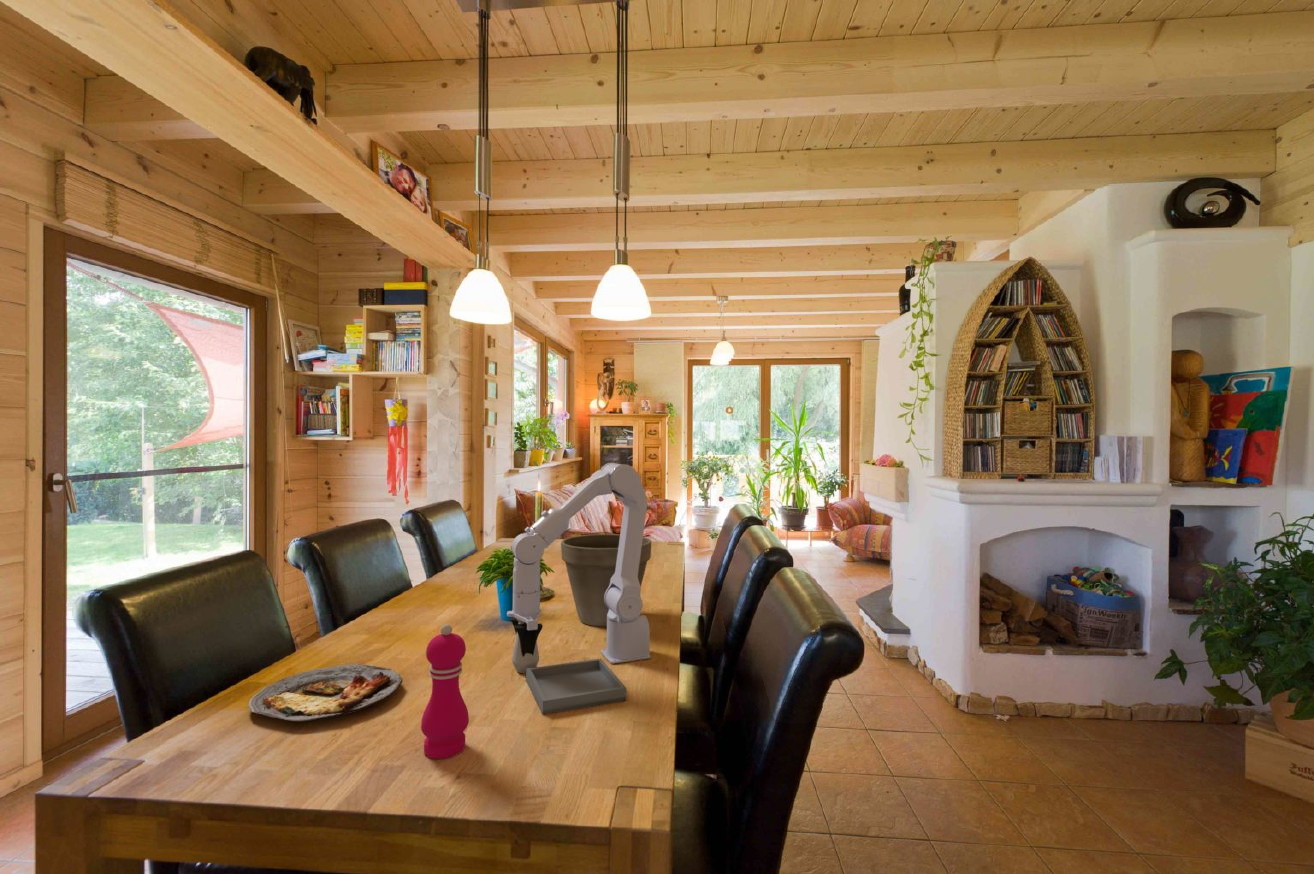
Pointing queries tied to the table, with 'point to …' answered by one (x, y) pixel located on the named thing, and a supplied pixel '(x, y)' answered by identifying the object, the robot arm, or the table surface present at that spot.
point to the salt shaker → (528, 659)
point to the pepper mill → (445, 697)
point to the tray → (574, 686)
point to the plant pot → (595, 572)
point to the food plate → (325, 692)
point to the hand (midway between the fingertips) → (525, 653)
